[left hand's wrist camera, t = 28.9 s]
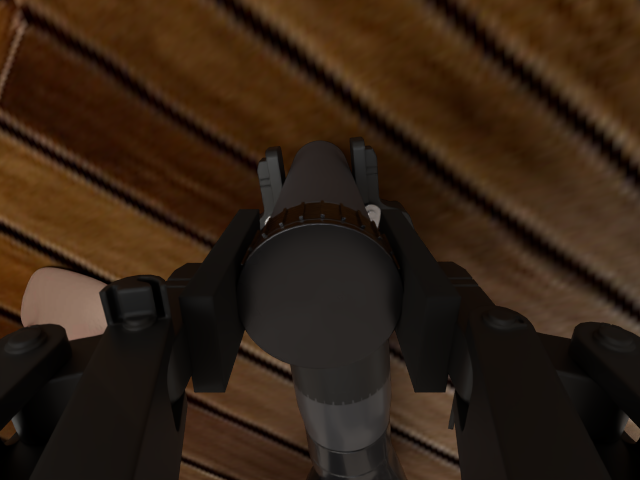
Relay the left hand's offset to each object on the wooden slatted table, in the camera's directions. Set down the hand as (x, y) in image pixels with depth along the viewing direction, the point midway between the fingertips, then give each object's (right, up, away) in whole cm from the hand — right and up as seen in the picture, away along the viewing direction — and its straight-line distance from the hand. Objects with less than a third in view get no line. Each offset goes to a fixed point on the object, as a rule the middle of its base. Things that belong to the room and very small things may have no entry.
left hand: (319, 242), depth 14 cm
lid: (0, -2, -4) cm, 4 cm away
